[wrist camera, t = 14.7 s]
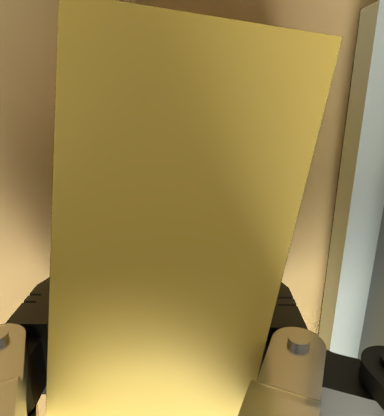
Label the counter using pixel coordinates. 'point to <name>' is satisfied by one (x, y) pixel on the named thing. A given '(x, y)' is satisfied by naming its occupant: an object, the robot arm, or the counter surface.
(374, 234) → the jig
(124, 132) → the yellow rectangular block
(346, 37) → the counter surface
